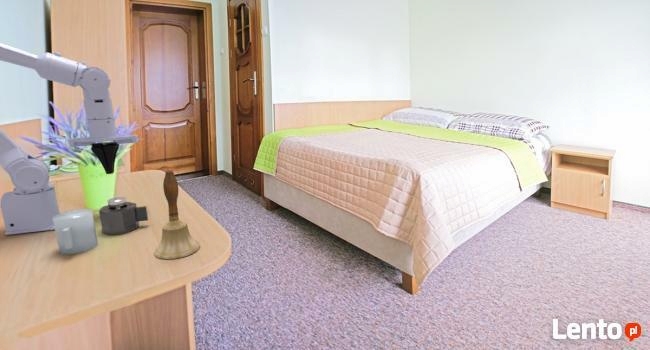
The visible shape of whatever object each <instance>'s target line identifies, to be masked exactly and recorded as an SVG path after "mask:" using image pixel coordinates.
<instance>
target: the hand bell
mask: <svg viewBox="0 0 650 350" xmlns="http://www.w3.org/2000/svg"><path fill="white" fill-rule="evenodd" d="M162 186H163V187H162V188H163V193H164V197H165V199H166V202H167V204H168V206H167V207H168V221H167V222H165V223H164V224H163V225H162V227H161V239H160V243H158V245H157V247H156V248H155V250H154V256H155V257H156V258H157V259H161V260H162V259H163V260H177V259H181V258H185V257H188V256H191V255H192V254H194V253H196V252H198V251H199V249H200V247H201V245H200V242H198V241H197V240H196V239H194V237H192V235H191V233H190V231H189V228H188V227H189V226H188V223H187V222H186V221H184V220H181V219H179V210H178V209H179V208H178V203H177V202H178V197H179V183H178V180H177V178H176V175H175V173H174V170H170V169H169V170H165V173H164V178H163V185H162Z"/></svg>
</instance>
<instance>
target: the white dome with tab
mask: <svg viewBox="0 0 650 350" xmlns="http://www.w3.org/2000/svg"><path fill="white" fill-rule="evenodd" d="M53 223H54V228H55V229H54V232H55V237H56V240H57V246H58V251H59V253H60V254H61V255H67V256H68V255H77V254H80V253H85V252H88V251H90V250H93V249H94V248H96V247H97V246H98V245H99V242H98V237H97V230H96V223H95V219H94V214H93V210H92V209H87V208H80V209H73V210H67V211H63V212H60V214H57V215H55V216H54V217H53Z"/></svg>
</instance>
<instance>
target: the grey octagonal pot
mask: <svg viewBox="0 0 650 350" xmlns="http://www.w3.org/2000/svg"><path fill="white" fill-rule="evenodd" d="M98 213H99V214H98V215H99V218H100V226H101V230H102V231H101V232H102V234H105V235H108V236H109V235H110V236H115V235H122V234H123V235H124V234H128V233H130V232H133V231H135V230H137V229H138V228H139V226H140V222H144V221H145V222H147V221H148V220H149V216H148V209H147V205H144V206H137V203H136V202H131V201H127V204H126V205H123V206H120V209H116V207H109V206H108V204H107V205H103V206H101V208H100V209H99V210H98Z"/></svg>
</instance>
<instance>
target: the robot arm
mask: <svg viewBox="0 0 650 350" xmlns="http://www.w3.org/2000/svg"><path fill="white" fill-rule="evenodd" d="M0 61H1V62H5V63H10V64H13V65H17V66H20V67H25V68H28V69H30V70H31V69H32V70H34V71H35V72H36V73H37V75H38V76H39V77H40V78H41V79H44V80H48V81H50V82H51V81H52V82H55V83H59V84H62V85H64V86H65V85H66V86H70V87H72V88H73V87H74V88H76V87H81V89H82V95H83V100H82V101H83V107H84V112H85V118H86V122H87V128H88V135H89V136H84V137H83V136H82V137H70V138H68V140H67V141H68V146H69V148H75V147H87V146H89V147H90V146H91V148H90V150H91V152H92V153H93V155H94V156H96V158H97V160H98V161H99V162H100V164H101V166H102V167H103V171H104V172H105V175H112V174H114V173H115V162H116V157H117V153H118V150H119V149H120V145H121V144H137V143H139V137H138V134H117V133H118V132H117V127H116V120H115V113H114V109H113V103H112V102H113V101H112V99H111V92H110V89H109V88H110V86H111V79H110V78H109V75H108V74H107V72H105V71H104V70H103V69H101V68H99V67H97V66H90V67H89V66H88V67H87V62H85V61H80V62H78V61H75V60H72V59H69V58H66V57H63V56H62V54H61V53H60V52H56V51H54V52H53V53H51V52H44V53H42V54H39V55H37V54H33V53H32V52H28V51H24V50H22V49H19V48H16V47H12V46H10V45H7V44H5V43H1V42H0ZM0 166H1V168H2V170H4V171H5V172H6V173H7V174H8V176H9V178H10V180H11V183H12V185H13V186H14V188H13V190H12V191H6V192H5V193H3V194H2V196H1V198H0V211H1V214H2V215H1V216H2V219H3V222H4V223H3V224H4V226H5V231H6V232H4V235H5V236H8V235H17V234H27V233H36V232H44V231H53V230H54V231H55V228H54V223H53V217H54V216H55V215H57V214H60V213H61V212H60V209H59V204H58V197H57V195H56V193H57V192H56V187H55V185H54V183H52V182H50V168H49V166H48V164H47V163H46V162H45V161H44V160H42V159H39V158H37V157H34V156H33V155H31V154H30V153H29V152H28V151H26V150H25V149H23V148H22V147H21V146H20V145H18V144H17V143H16V142H15V141H14V140H13V139H12V138H11V137H10V136H9V135H8V134H7V133H6V132H5V131H4V130H3V129H1V128H0Z"/></svg>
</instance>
